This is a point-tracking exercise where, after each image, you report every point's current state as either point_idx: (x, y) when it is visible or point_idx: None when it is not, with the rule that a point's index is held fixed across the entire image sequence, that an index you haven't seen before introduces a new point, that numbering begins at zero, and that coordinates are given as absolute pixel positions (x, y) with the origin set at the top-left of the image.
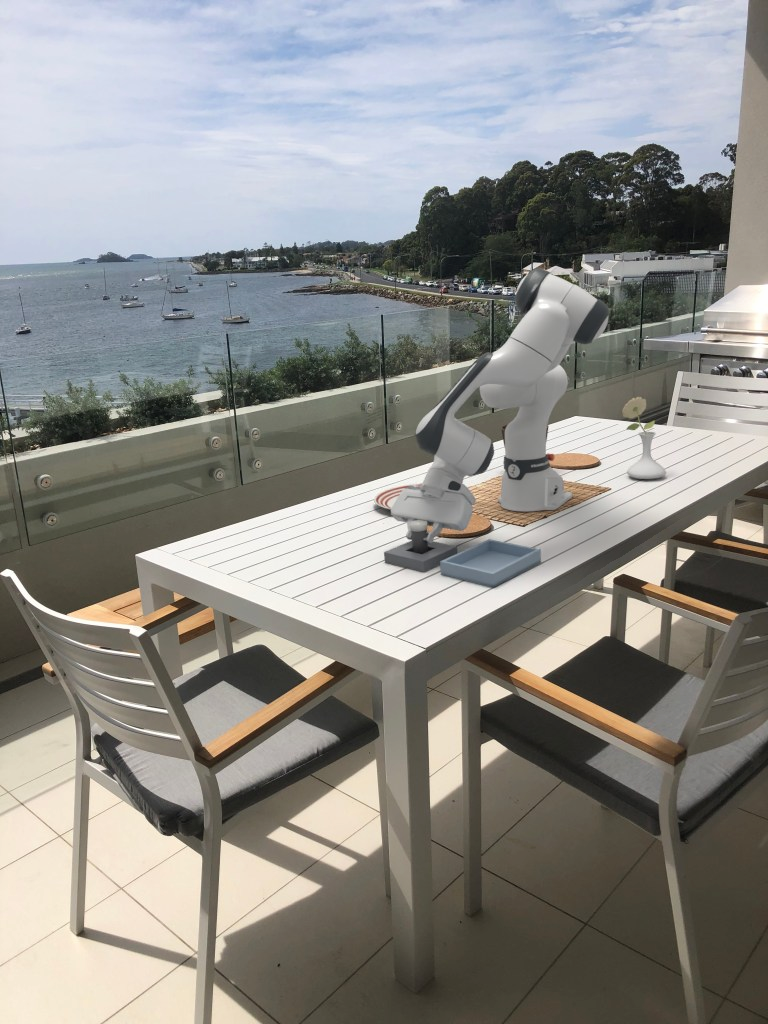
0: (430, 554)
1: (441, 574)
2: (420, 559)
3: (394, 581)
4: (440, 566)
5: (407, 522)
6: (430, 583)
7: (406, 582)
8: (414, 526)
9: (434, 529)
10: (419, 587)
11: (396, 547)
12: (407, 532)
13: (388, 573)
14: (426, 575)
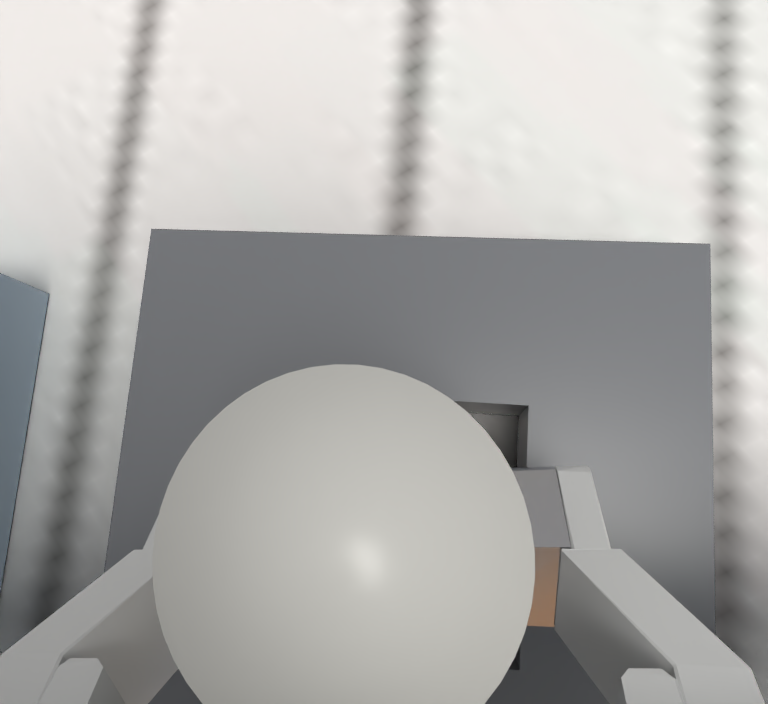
0: (199, 430)
1: (43, 294)
2: (209, 261)
3: (291, 3)
4: (2, 274)
5: (742, 674)
6: (31, 113)
7: (199, 36)
8: (312, 368)
9: (65, 612)
10: (63, 18)
11: (698, 441)
12: (592, 505)
13: (446, 96)
14: (141, 221)
